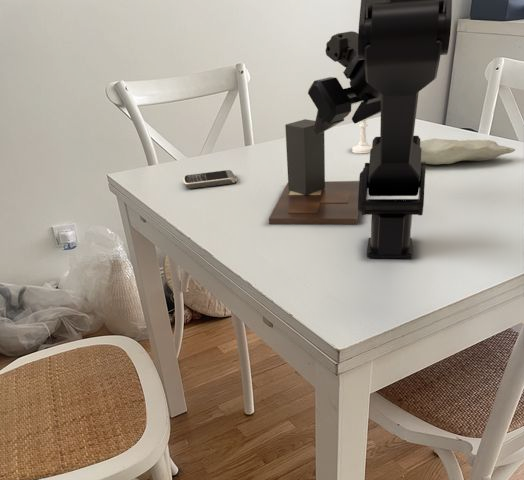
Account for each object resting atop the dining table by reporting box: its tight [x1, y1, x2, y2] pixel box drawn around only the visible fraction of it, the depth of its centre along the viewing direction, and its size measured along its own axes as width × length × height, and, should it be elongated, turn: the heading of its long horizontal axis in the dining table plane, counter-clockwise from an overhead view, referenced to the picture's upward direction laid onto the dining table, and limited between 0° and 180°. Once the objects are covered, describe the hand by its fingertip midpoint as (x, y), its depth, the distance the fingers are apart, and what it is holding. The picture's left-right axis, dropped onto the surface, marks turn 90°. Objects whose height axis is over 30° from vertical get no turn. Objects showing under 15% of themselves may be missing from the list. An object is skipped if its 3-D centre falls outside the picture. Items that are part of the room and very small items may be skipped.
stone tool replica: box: [420, 138, 516, 166], centre depth 113 cm, size 15×5×25 cm
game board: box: [268, 180, 360, 225], centre depth 99 cm, size 20×15×1 cm
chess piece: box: [351, 118, 372, 154], centre depth 124 cm, size 5×5×10 cm
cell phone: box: [182, 169, 237, 190], centre depth 115 cm, size 6×11×1 cm, turn 99°
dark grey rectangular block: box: [285, 118, 326, 195], centre depth 100 cm, size 5×5×12 cm
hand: (335, 126), depth 92 cm, fingers open, 9 cm apart
